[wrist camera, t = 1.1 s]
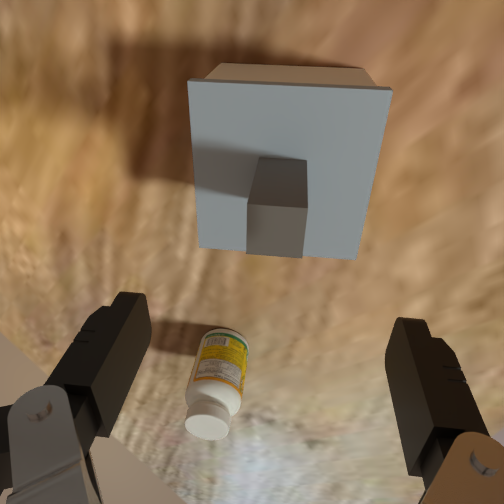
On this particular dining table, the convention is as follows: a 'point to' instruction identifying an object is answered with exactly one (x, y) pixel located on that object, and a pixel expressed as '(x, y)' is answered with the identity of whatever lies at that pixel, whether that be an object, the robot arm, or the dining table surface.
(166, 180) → the dining table surface
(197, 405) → the supplement bottle
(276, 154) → the lid
